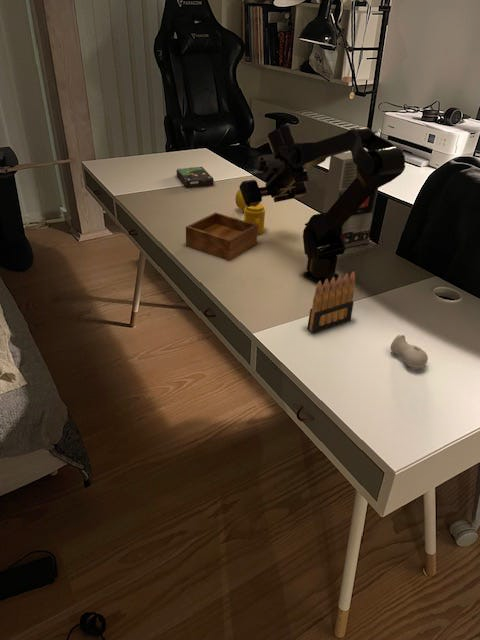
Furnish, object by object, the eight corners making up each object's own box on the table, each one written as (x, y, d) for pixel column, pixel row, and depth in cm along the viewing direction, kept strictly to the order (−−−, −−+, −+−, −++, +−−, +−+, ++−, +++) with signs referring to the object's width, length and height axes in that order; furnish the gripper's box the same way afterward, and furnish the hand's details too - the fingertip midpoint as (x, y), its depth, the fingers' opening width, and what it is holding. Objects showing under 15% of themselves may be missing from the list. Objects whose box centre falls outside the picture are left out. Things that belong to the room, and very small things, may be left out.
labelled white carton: (330, 252, 139) (344, 160, 125) (318, 243, 143) (330, 154, 130) (369, 243, 144) (387, 155, 131) (356, 235, 149) (372, 149, 135)
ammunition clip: (312, 333, 105) (319, 283, 99) (306, 329, 107) (313, 279, 100) (350, 320, 110) (360, 272, 103) (345, 316, 111) (354, 268, 105)
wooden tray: (256, 243, 142) (258, 224, 139) (229, 260, 132) (229, 240, 129) (215, 229, 148) (215, 212, 145) (186, 245, 139) (185, 226, 136)
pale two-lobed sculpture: (427, 374, 97) (409, 373, 95) (401, 350, 103) (383, 349, 101) (438, 356, 95) (420, 355, 93) (411, 332, 101) (393, 331, 99)
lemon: (250, 215, 159) (251, 190, 155) (233, 213, 160) (234, 188, 156) (253, 208, 164) (255, 184, 159) (237, 207, 165) (237, 183, 160)
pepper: (267, 233, 148) (269, 204, 143) (247, 235, 146) (248, 205, 141) (259, 225, 153) (261, 196, 148) (240, 227, 151) (241, 198, 146)
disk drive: (214, 186, 181) (202, 173, 193) (214, 178, 180) (202, 166, 191) (186, 188, 178) (175, 175, 190) (186, 180, 177) (175, 167, 188)
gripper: (304, 143, 133) (278, 173, 147) (244, 150, 125) (222, 181, 139) (319, 181, 132) (291, 208, 146) (259, 191, 124) (235, 218, 138)
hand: (260, 203), depth 142 cm, fingers open, 9 cm apart
